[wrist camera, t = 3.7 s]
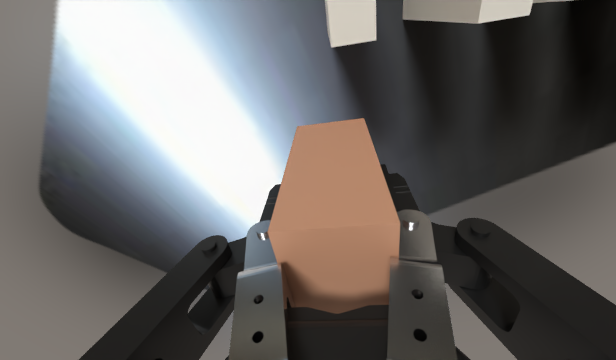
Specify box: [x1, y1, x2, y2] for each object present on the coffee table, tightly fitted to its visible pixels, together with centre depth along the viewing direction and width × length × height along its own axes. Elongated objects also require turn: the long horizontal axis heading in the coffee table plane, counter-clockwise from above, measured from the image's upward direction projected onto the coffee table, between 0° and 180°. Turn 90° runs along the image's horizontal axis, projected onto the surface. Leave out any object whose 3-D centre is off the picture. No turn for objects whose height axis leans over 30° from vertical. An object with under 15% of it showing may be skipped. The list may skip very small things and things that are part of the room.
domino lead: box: [268, 118, 400, 314], centre depth 11 cm, size 4×5×8 cm
